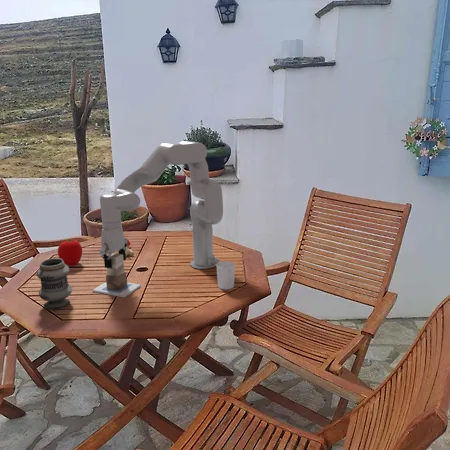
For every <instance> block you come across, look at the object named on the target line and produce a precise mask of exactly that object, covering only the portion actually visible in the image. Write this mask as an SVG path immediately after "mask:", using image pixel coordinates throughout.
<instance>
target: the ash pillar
mask: <svg viewBox="0 0 450 450" xmlns="http://www.w3.org/2000/svg"><path fill="white" fill-rule="evenodd" d="M110 259H111V261H112V268H106V275H110V276H116V277H118V276H119V275H121V274H123V273H124V272H125V262H124V261H125V260H123V255H122V254H119V253H116V252H114V253H112V254H111V257H110Z"/></svg>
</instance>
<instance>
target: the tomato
mask: <svg viewBox="0 0 450 450" xmlns="http://www.w3.org/2000/svg"><path fill="white" fill-rule="evenodd" d="M82 255H83V247H82V245H81V243H80V242H79V241H77V240H76V239H67V240H65V241H63V242H61V243H60V244H59V245H58V248H57V256H58V258H60V259H63V261H64V264H66V265H67V266H68V267H73V266H77V265H78V264H79V263H80V261H81V259H82Z"/></svg>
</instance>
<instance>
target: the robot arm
mask: <svg viewBox="0 0 450 450" xmlns="http://www.w3.org/2000/svg"><path fill="white" fill-rule="evenodd" d="M207 155H208V150H207V147H206V146H205V145H204V143H201V142H197V141H191V140H182V141H179V142H177V144H175V143H168V142H164V143H163V142H162V143H160V144H159V145H157V146H156V148H155V149H154V151H152V153H151V154H149V156H148V158H147V159H146V160H145V161H144V162H143V163H142V165H141V166H140V167H139V168H137V169H136V170H134V171H133V172H132V173H130V174H128V176H126V177H125V178H124V179H122V181H121V182H120V183H119V185H118V186H117V187H116V188H115V189H114V192H113V193H104V194H102V195H100V197H99V204H100V205H99V206H100V213H101V223H102V225H101V226H102V229H101V232H100V233H101V234H100V236H101V237H100V238H101V239H100V241H101V242H100V243H101V249H100V250H99V254H100V257H101V258H102V260H103V262H104V267H105V269H107V268H112V261H111V259H110V257H111V254H112V253H116V252H118V253H117V254H122V255H123V261H126V260H127V256H126V253H125V251H126V246H127V244H126V243H127V240H128V238H125V234H124V233H125V232H124V230H123V226H122V216H121V215H122V213H121V212H125V211H127V212H129V211H134V210H136V209H138V208H139V207H140V204H141V198H140V196H139V195H138V194H136V193H135V192H137V190H139V189H140V188H142V187H143V186H146V185H148V184H149V185H150V184H152V183H154V182H157V180H158V179H160V177H161V175H162V174H163V173H164V172H165V171H166V169H167V168H168V167H169V165H174V166H181V165H187V166H188V170H189V175H190V176H189V177H190V178H189V180H190V190H191V193H192V195H193V197H195V198H198V200H195V201H193V202H192V204H191V205H190V206H189V207H190V208H189V214H190V215H189V216H190V220H191V224H192V225H191V226H192V227H191V228H192V252H193V255H192V258H193V260H191V261H190V262H189V263H190V266H191V267H192V268H193V269H198V270H206V269H212V268H214V267H217V266H216V264H217V263H219V262H222V261H221V258H217V257H216V255H215V254H214V236H213V235H214V232H213V231H214V230H213V229H214V228H213V225H217V224H219V223H220V222H221V221H222V220H223V216H224V203H223V202H224V200H223V190H222V187H221V185H220V183H219V182H218V181H216V180H214V179H210V173H209V165H208V162H207V160H206V158H207Z"/></svg>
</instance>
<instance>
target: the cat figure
mask: <svg viewBox="0 0 450 450" xmlns="http://www.w3.org/2000/svg"><path fill="white" fill-rule="evenodd" d="M126 244H127V246H126V251H125V253H126V257H128V255H129V257H133V256H135V253H134V251H133V250H132V249H131V248H130V246H131V242H130V240H129V239H127V243H126Z"/></svg>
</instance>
